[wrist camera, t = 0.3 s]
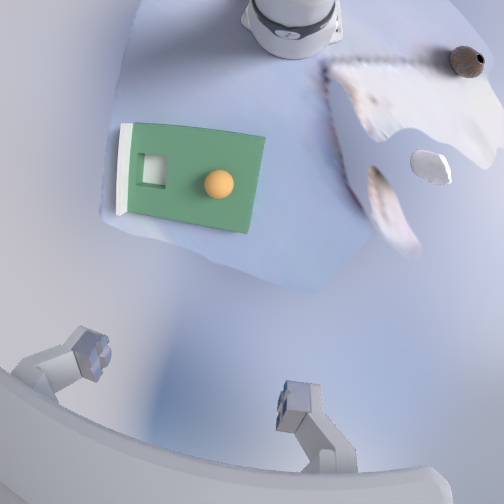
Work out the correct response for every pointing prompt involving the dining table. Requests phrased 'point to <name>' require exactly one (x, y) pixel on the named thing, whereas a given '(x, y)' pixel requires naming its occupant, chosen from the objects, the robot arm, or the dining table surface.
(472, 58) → the vase
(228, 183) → the ball
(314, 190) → the dining table surface
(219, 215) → the green
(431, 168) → the roll
